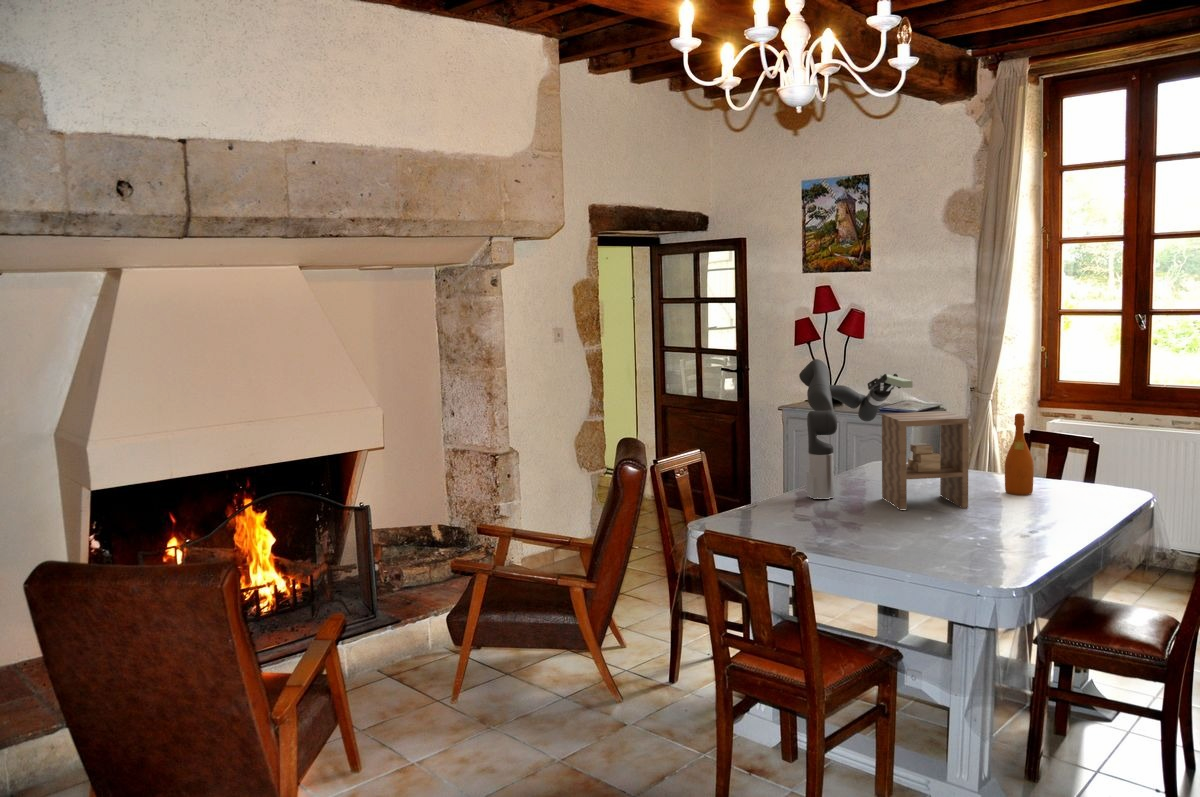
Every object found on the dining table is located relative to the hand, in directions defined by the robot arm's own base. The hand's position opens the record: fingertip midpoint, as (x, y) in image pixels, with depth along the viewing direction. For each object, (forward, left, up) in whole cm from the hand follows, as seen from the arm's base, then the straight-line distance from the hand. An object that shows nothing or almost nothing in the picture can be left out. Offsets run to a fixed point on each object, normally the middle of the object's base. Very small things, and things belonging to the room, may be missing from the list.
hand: (891, 376), depth 374 cm
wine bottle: (+34, -32, -44) cm, 64 cm away
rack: (-6, -34, -43) cm, 55 cm away
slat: (-1, -5, -3) cm, 6 cm away
